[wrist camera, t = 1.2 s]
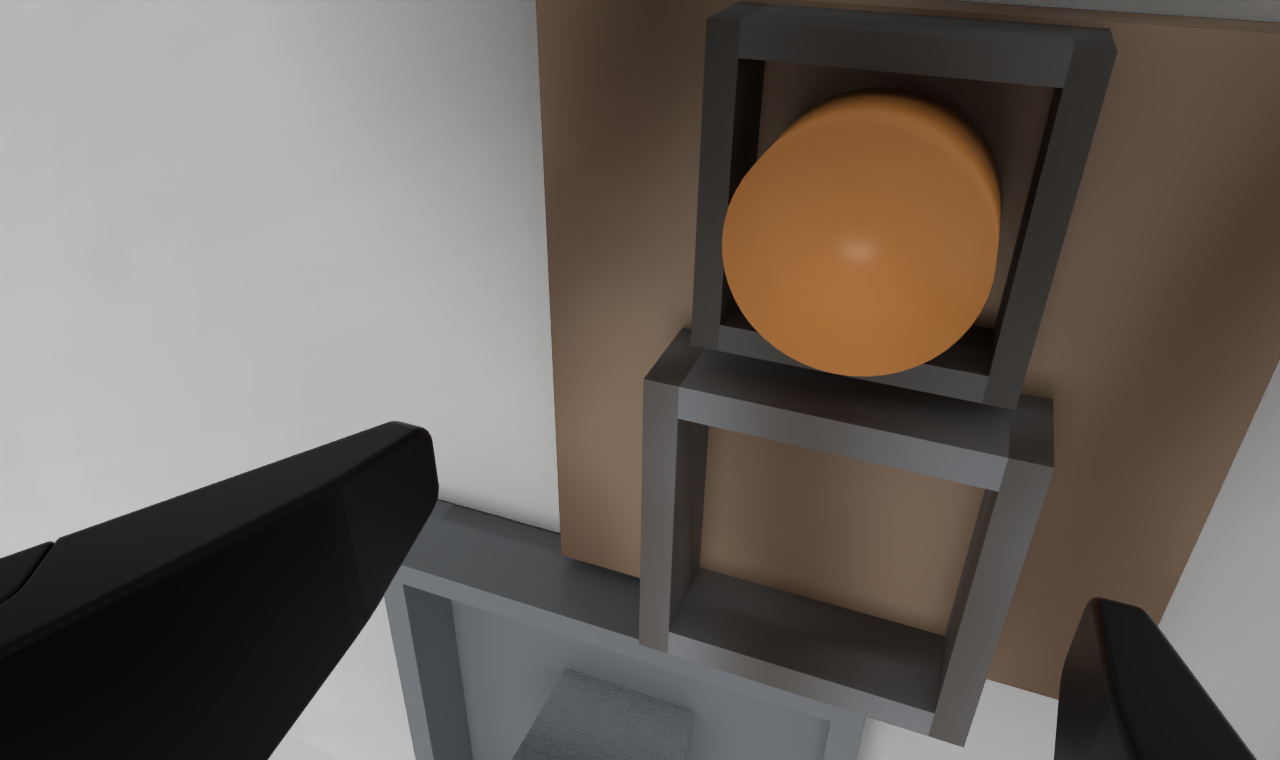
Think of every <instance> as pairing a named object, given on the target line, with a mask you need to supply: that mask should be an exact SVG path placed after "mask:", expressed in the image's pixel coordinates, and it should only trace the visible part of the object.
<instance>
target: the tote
mask: <svg viewBox="0 0 1280 760" xmlns="http://www.w3.org/2000/svg"><path fill="white" fill-rule="evenodd" d="M384 598H385V603H386V608H387V613H388V618H389V624H390V629H391V634H392V639H393V644H394V649H395V655H396V660H397V665H398V670H399V675H400V680H401V686H402V691H403V696H404V701H405V706H406V711H407V717H408V722H409V727H410V732H411V737H412V742H413V747H414V753H415V758H416V760H512V759H513V757H514V755H515V754H516V752H517V750H518V748H519V747H520V745H521V743H522V742H523V740H524V738H525V736H526V735H527V733H528V731H529V730H530V728H531V726H532V724H533V723H534V721H535V719H536V718H537V716H538V714H539V712H540V711H541V709H542V707H543V706H544V704H545V702H546V700H547V699H548V697H549V695H550V694H551V692H552V690H553V688H554V687H555V685H556V683H557V682H558V680H559V678H560V676H561V675H562V673H563V671H564V670H565V668H568V669H571V670H574V671H577V672H580V673H583V674H586V675H589V676H592V677H595V678H598V679H601V680H604V681H607V682H610V683H613V684H616V685H619V686H622V687H625V688H628V689H631V690H634V691H637V692H640V693H643V694H646V695H649V696H652V697H655V698H658V699H661V700H664V701H667V702H670V703H673V704H676V705H679V706H682V707H685V708H688V709H691V710H694V714H693V729H692V744H691V758H690V760H856V756H857V751H858V747H859V742H860V738H861V734H862V729H863V725H864V720H865V716H864V715H860V714H857V713H854V712H851V711H848V710H845V709H841V708H838V707H835V706H832V705H829V704H826V703H822V702H819V701H816V700H813V699H810V698H807V697H803V696H800V695H797V694H794V693H791V692H788V691H784V690H781V689H778V688H775V687H772V686H769V685H765V684H762V683H759V682H756V681H753V680H750V679H746V678H743V677H740V676H737V675H734V674H731V673H727V672H724V671H721V670H718V669H715V668H712V667H708V666H705V665H702V664H699V663H696V662H693V661H689V660H686V659H683V658H680V657H677V656H674V655H670V654H667V653H664V652H661V651H658V650H655V649H651V648H648V647H645V646H642V645H639V611H640V578H638V577H635V576H631V575H628V574H625V573H621V572H618V571H614V570H611V569H607V568H604V567H601V566H597V565H594V564H590V563H587V562H583V561H580V560H576V559H573V558H570V557H566V556H563V555H561V535H560V534H556V533H553V532H549V531H546V530H542V529H539V528H535V527H532V526H528V525H525V524H521V523H517V522H514V521H510V520H507V519H503V518H500V517H496V516H493V515H489V514H486V513H482V512H479V511H475V510H472V509H468V508H464V507H461V506H457V505H454V504H450V503H447V502H443V501H440V500H437V502H436V505H435V507H434V509H433V511H432V513H431V515H430V517H429V518H428V520H427V522H426V523H425V525H424V527H423V529H422V530H421V532H420V534H419V536H418V537H417V539H416V541H415V542H414V544H413V546H412V548H411V549H410V551H409V553H408V555H407V556H406V558H405V560H404V561H403V563H402V565H401V567H400V568H399V570H398V572H397V573H396V575H395V577H394V579H393V580H392V582H391V584H390V586H389V587H388V589H387V591H386V592H385V594H384Z"/></svg>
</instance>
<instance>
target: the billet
mask: <svg viewBox="0 0 1280 760" xmlns="http://www.w3.org/2000/svg"><path fill="white" fill-rule="evenodd" d="M693 714H694V710H691V709H688V708H685V707H682V706H679V705H676V704H673V703H670V702H667V701H664V700H661V699H658V698H655V697H652V696H649V695H646V694H643V693H640V692H637V691H634V690H631V689H628V688H625V687H622V686H619V685H616V684H613V683H610V682H607V681H604V680H601V679H598V678H595V677H592V676H589V675H586V674H583V673H580V672H577V671H574V670H571V669H568V668H565V670H564V671H563V673H562V675H561V676H560V678H559V680H558V682H557V683H556V685H555V687H554V688H553V690H552V692H551V694H550V695H549V697H548V699H547V700H546V702H545V704H544V706H543V707H542V709H541V711H540V712H539V714H538V716H537V718H536V719H535V721H534V723H533V724H532V726H531V728H530V730H529V731H528V733H527V735H526V736H525V738H524V740H523V742H522V743H521V745H520V747H519V748H518V750H517V752H516V754H515V755H514V757H513V759H512V760H690V758H691V744H692V729H693Z"/></svg>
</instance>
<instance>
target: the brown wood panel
mask: <svg viewBox="0 0 1280 760" xmlns="http://www.w3.org/2000/svg"><path fill="white" fill-rule="evenodd" d="M536 11H537V33H538V54H539V76H540V98H541V120H542V142H543V163H544V185H545V207H546V229H547V250H548V272H549V294H550V316H551V338H552V359H553V381H554V403H555V425H556V446H557V468H558V490H559V512H560V534H561V555H563V556H566V557H570V558H573V559H576V560H580V561H583V562H587V563H590V564H594V565H597V566H601V567H604V568H607V569H611V570H614V571H618V572H621V573H625V574H628V575H631V576H635V577H638V578H640V611H639V645H642V646H645V647H648V648H651V649H655V650H658V651H661V652H664V653H667V654H670V655H674V656H677V657H680V658H683V659H686V660H689V661H693V662H696V663H699V664H702V665H705V666H708V667H712V668H715V669H718V670H721V671H724V672H727V673H731V674H734V675H737V676H740V677H743V678H746V679H750V680H753V681H756V682H759V683H762V684H765V685H769V686H772V687H775V688H778V689H781V690H784V691H788V692H791V693H794V694H797V695H800V696H803V697H807V698H810V699H813V700H816V701H819V702H822V703H826V704H829V705H832V706H835V707H838V708H841V709H845V710H848V711H851V712H854V713H857V714H860V715H864V716H867V717H870V718H873V719H876V720H879V721H883V722H886V723H889V724H892V725H895V726H898V727H902V728H905V729H908V730H911V731H914V732H917V733H920V734H924V735H927V736H930V737H933V738H936V739H939V740H943V741H946V742H949V743H952V744H955V745H958V746H962V747H964V745H965V742H966V739H967V736H968V733H969V730H970V726H971V723H972V720H973V717H974V714H975V711H976V708H977V705H978V702H979V699H980V696H981V693H982V690H983V686H984V683H985V680H986V679H989V680H992V681H996V682H999V683H1003V684H1006V685H1010V686H1013V687H1016V688H1020V689H1023V690H1027V691H1030V692H1034V693H1037V694H1040V695H1044V696H1047V697H1051V698H1054V699H1058V700H1059V691H1060V681H1061V675H1062V670H1063V666H1064V662H1065V659H1066V656H1067V653H1068V651H1069V648H1070V645H1071V643H1072V640H1073V638H1074V635H1075V632H1076V630H1077V627H1078V624H1079V622H1080V619H1081V616H1082V614H1083V611H1084V609H1085V606H1086V605H1087V603H1088V602H1089V601H1090V600H1091V599H1092V598H1095V597H1102V598H1106V599H1110V600H1114V601H1118V602H1122V603H1126V604H1130V605H1134V606H1137V607H1140V608H1142V609H1143V610H1144V611H1146V612H1147V613H1148V614H1149V615H1150V617H1151V618H1152V619H1153V621H1154V622H1155V623H1156V625H1157V626H1158V625H1159V623H1160V621H1161V618H1162V616H1163V614H1164V612H1165V610H1166V607H1167V605H1168V603H1169V601H1170V599H1171V596H1172V594H1173V592H1174V590H1175V588H1176V585H1177V583H1178V581H1179V579H1180V577H1181V574H1182V572H1183V570H1184V568H1185V566H1186V563H1187V561H1188V559H1189V557H1190V555H1191V553H1192V550H1193V548H1194V546H1195V544H1196V542H1197V539H1198V537H1199V535H1200V533H1201V531H1202V528H1203V526H1204V524H1205V522H1206V520H1207V517H1208V515H1209V513H1210V511H1211V509H1212V506H1213V504H1214V502H1215V500H1216V498H1217V495H1218V493H1219V491H1220V489H1221V487H1222V485H1223V482H1224V480H1225V478H1226V476H1227V474H1228V471H1229V469H1230V467H1231V465H1232V463H1233V460H1234V458H1235V456H1236V454H1237V452H1238V449H1239V447H1240V445H1241V443H1242V441H1243V438H1244V436H1245V434H1246V432H1247V430H1248V427H1249V425H1250V423H1251V421H1252V419H1253V417H1254V414H1255V412H1256V410H1257V408H1258V406H1259V403H1260V401H1261V399H1262V397H1263V395H1264V392H1265V390H1266V388H1267V386H1268V384H1269V381H1270V379H1271V377H1272V375H1273V373H1274V370H1275V368H1276V366H1277V364H1278V362H1279V359H1280V23H1274V22H1259V21H1244V20H1229V19H1215V18H1200V17H1185V16H1170V15H1155V14H1140V13H1125V12H1110V11H1096V10H1081V9H1066V8H1051V7H1036V6H1021V5H1006V4H991V3H977V2H962V1H947V0H536ZM876 87H877V88H896V89H902V90H908V91H913V92H916V93H919V94H922V95H926V96H928V97H930V98H933V99H935V100H937V101H939V102H941V103H943V104H945V105H946V106H948V107H949V108H951V109H952V110H954V111H955V112H957V113H958V114H959V115H960V116H962V117H963V118H964V119H965V120H966V121H967V122H968V123H970V125H971V126H972V127H973V128H974V129H975V130H976V131H977V133H978V134H979V135H980V136H981V138H982V139H983V141H984V142H985V144H986V146H987V147H988V149H989V150H990V153H991V155H992V157H993V159H994V161H995V164H996V167H997V170H998V174H999V177H1000V181H1001V189H1002V218H1001V227H1000V235H999V244H998V252H997V261H996V268H995V274H994V280H993V283H992V287H991V290H990V293H989V296H988V298H987V300H986V302H985V304H984V306H983V308H982V310H981V312H980V314H979V315H978V317H977V318H976V320H975V321H974V323H973V324H972V326H971V327H970V328H969V329H968V330H967V331H966V333H965V334H964V335H963V336H962V337H961V338H960V339H959V340H958V341H957V342H955V343H954V344H953V345H952V346H951V347H949V348H948V349H947V350H946V351H944V352H943V353H941V354H940V355H938V356H936V357H935V358H933V359H932V360H929V361H927V362H925V363H923V364H921V365H919V366H917V367H914V368H911V369H908V370H905V371H902V372H897V373H892V374H887V375H880V376H868V377H865V376H847V375H840V374H833V373H829V372H825V371H822V370H818V369H815V368H813V367H810V366H807V365H805V364H802V363H800V362H798V361H796V360H794V359H793V358H791V357H789V356H787V355H786V354H784V353H783V352H781V351H780V350H778V349H777V348H775V347H774V346H773V345H771V344H770V343H769V342H768V341H767V340H765V339H764V338H763V337H762V336H761V335H760V334H759V333H758V332H757V331H756V330H755V328H754V327H753V326H752V325H751V324H750V323H749V321H748V320H747V319H746V317H745V316H744V314H743V313H742V311H741V310H740V308H739V306H738V304H737V303H736V301H735V299H734V297H733V294H732V292H731V290H730V287H729V285H728V281H727V277H726V274H725V270H724V263H723V256H722V235H723V228H724V221H725V218H726V214H727V211H728V207H729V205H730V202H731V200H732V198H733V195H734V193H735V191H736V189H737V188H738V186H739V184H740V183H741V181H742V179H743V178H744V177H745V175H746V174H747V173H748V172H749V170H750V169H751V168H752V167H753V165H754V164H755V163H756V162H757V161H758V160H759V159H760V158H761V157H762V156H763V154H764V153H765V152H766V151H767V150H768V149H769V148H770V147H771V146H772V145H773V143H774V142H775V141H776V140H777V139H778V138H779V137H780V136H781V135H782V134H783V132H784V131H785V130H786V129H787V128H788V127H789V126H790V125H791V124H792V123H793V122H794V121H795V120H796V119H797V118H799V117H800V116H801V115H802V114H804V113H805V112H806V111H808V110H809V109H811V108H812V107H813V106H815V105H817V104H819V103H821V102H823V101H825V100H826V99H829V98H831V97H834V96H837V95H839V94H842V93H845V92H850V91H854V90H858V89H866V88H876Z"/></svg>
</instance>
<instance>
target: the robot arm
mask: <svg viewBox="0 0 1280 760" xmlns="http://www.w3.org/2000/svg"><path fill="white" fill-rule="evenodd" d="M438 492H439V484H438V477H437V470H436V463H435V456H434V449H433V442H432V438H431V435H430V434H429V432H428V431H427V430H426V429H424V428H422V427H419V426H415V425H411V424H407V423H403V422H398V421H391V422H388V423H385V424H382V425H379V426H376V427H374V428H371V429H368V430H365V431H362V432H359V433H356V434H354V435H351V436H348V437H345V438H342V439H339V440H337V441H334V442H331V443H328V444H325V445H322V446H319V447H317V448H314V449H311V450H308V451H305V452H302V453H300V454H297V455H294V456H291V457H288V458H285V459H282V460H280V461H277V462H274V463H271V464H268V465H265V466H263V467H260V468H257V469H254V470H251V471H248V472H245V473H243V474H240V475H237V476H234V477H231V478H228V479H226V480H223V481H220V482H217V483H214V484H211V485H208V486H206V487H203V488H200V489H197V490H194V491H191V492H189V493H186V494H183V495H180V496H177V497H174V498H171V499H169V500H166V501H163V502H160V503H157V504H154V505H152V506H149V507H146V508H143V509H140V510H137V511H134V512H132V513H129V514H126V515H123V516H120V517H117V518H115V519H112V520H109V521H106V522H103V523H100V524H97V525H95V526H92V527H89V528H86V529H83V530H80V531H78V532H75V533H72V534H69V535H66V536H63V537H61V538H59V539H58V540H57V541H56V542H55V543H54V542H51V541H49V542H46V543H43V544H40V545H37V546H34V547H32V548H29V549H26V550H23V551H20V552H18V553H15V554H12V555H9V556H6V557H3V558H0V760H268V759H269V757H270V756H271V754H272V753H273V752H274V750H275V749H276V748H277V746H278V745H279V743H280V742H281V741H282V739H283V738H284V737H285V735H286V734H287V732H288V731H289V730H290V728H291V727H292V726H293V724H294V723H295V721H296V720H297V719H298V717H299V716H300V715H301V713H302V712H303V710H304V709H305V708H306V706H307V705H308V704H309V702H310V701H311V699H312V698H313V697H314V695H315V694H316V693H317V691H318V690H319V688H320V687H321V686H322V684H323V683H324V682H325V680H326V679H327V677H328V676H329V675H330V673H331V672H332V671H333V669H334V668H335V666H336V665H337V664H338V662H339V661H340V660H341V658H342V657H343V655H344V654H345V653H346V651H347V650H348V649H349V647H350V646H351V644H352V643H353V642H354V640H355V639H356V638H357V636H358V635H359V633H360V632H361V630H362V629H363V627H364V626H365V625H366V623H367V622H368V620H369V619H370V617H371V616H372V614H373V612H374V611H375V609H376V608H377V606H378V604H379V603H380V601H381V599H382V598H383V596H384V594H385V592H386V591H387V589H388V587H389V586H390V584H391V582H392V580H393V579H394V577H395V575H396V573H397V572H398V570H399V568H400V567H401V565H402V563H403V561H404V560H405V558H406V556H407V555H408V553H409V551H410V549H411V548H412V546H413V544H414V542H415V541H416V539H417V537H418V536H419V534H420V532H421V530H422V529H423V527H424V525H425V523H426V522H427V520H428V518H429V517H430V515H431V513H432V511H433V509H434V507H435V505H436V502H437V498H438ZM1054 760H1256V758H1255V757H1254V755H1253V754H1252V753H1251V751H1250V750H1249V749H1248V747H1247V746H1246V745H1245V743H1244V742H1243V741H1242V739H1241V738H1240V737H1239V735H1238V734H1237V733H1236V731H1235V730H1234V729H1233V727H1232V726H1231V724H1230V723H1229V722H1228V720H1227V719H1226V718H1225V716H1224V715H1223V714H1222V712H1221V711H1220V710H1219V708H1218V707H1217V706H1216V704H1215V703H1214V702H1213V700H1212V699H1211V698H1210V696H1209V695H1208V694H1207V692H1206V691H1205V689H1204V688H1203V687H1202V685H1201V684H1200V683H1199V681H1198V680H1197V679H1196V677H1195V676H1194V675H1193V673H1192V672H1191V671H1190V669H1189V668H1188V667H1187V665H1186V664H1185V663H1184V661H1183V660H1182V658H1181V657H1180V656H1179V654H1178V653H1177V652H1176V650H1175V649H1174V648H1173V646H1172V645H1171V644H1170V642H1169V641H1168V640H1167V638H1166V637H1165V636H1164V634H1163V633H1162V632H1161V630H1160V629H1159V628H1158V626H1157V625H1156V623H1155V622H1154V621H1153V619H1152V618H1151V617H1150V615H1149V614H1148V613H1147V612H1146V611H1144V610H1143V609H1142V608H1140V607H1137V606H1134V605H1130V604H1126V603H1122V602H1118V601H1114V600H1110V599H1106V598H1102V597H1095V598H1092V599H1091V600H1090V601H1089V602H1088V603H1087V605H1086V606H1085V609H1084V611H1083V614H1082V616H1081V619H1080V622H1079V624H1078V627H1077V630H1076V632H1075V635H1074V638H1073V640H1072V643H1071V645H1070V648H1069V651H1068V653H1067V656H1066V659H1065V662H1064V666H1063V670H1062V675H1061V681H1060V691H1059V703H1058V716H1057V729H1056V741H1055V754H1054Z"/></svg>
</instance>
